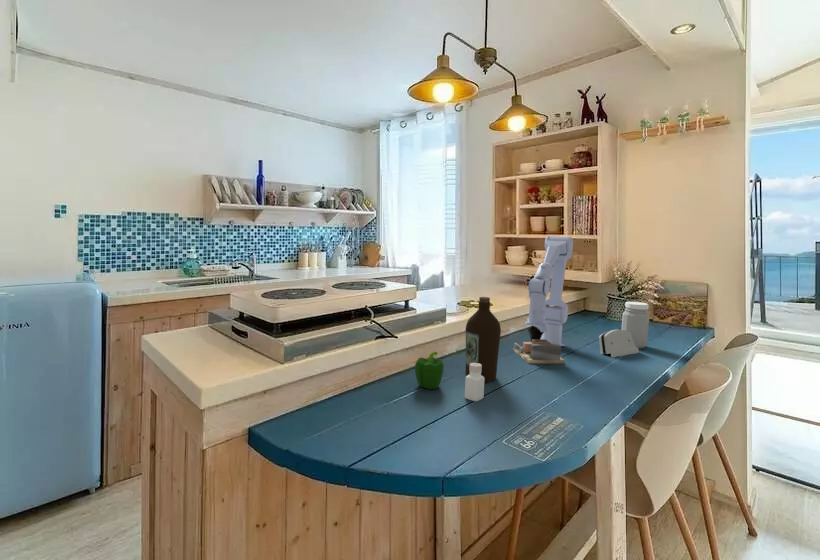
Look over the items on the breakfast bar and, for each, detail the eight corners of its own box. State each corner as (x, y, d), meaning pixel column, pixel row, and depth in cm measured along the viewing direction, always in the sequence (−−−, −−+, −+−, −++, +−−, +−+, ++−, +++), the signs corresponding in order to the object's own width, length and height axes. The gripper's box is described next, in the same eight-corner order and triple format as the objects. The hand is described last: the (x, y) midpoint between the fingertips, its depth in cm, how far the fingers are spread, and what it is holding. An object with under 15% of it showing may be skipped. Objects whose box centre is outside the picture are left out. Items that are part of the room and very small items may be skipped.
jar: (622, 341, 182) (625, 300, 180) (647, 345, 176) (652, 303, 174) (617, 346, 174) (621, 303, 172) (644, 350, 168) (649, 306, 166)
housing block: (531, 352, 155) (532, 339, 154) (544, 352, 155) (545, 339, 154) (536, 356, 150) (537, 342, 149) (550, 356, 150) (550, 343, 150)
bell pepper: (422, 393, 116) (423, 358, 115) (410, 383, 124) (411, 350, 123) (448, 389, 120) (450, 355, 118) (435, 380, 127) (437, 347, 126)
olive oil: (485, 370, 138) (489, 294, 135) (505, 380, 128) (509, 299, 126) (457, 373, 134) (460, 295, 131) (475, 385, 124) (479, 301, 121)
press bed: (513, 350, 162) (514, 334, 162) (546, 350, 164) (547, 334, 163) (528, 363, 147) (529, 345, 146) (564, 363, 148) (565, 346, 147)
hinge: (612, 357, 157) (606, 330, 159) (601, 358, 161) (595, 332, 163) (639, 352, 165) (633, 327, 167) (628, 353, 169) (623, 328, 171)
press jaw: (522, 350, 157) (522, 342, 157) (548, 350, 158) (549, 342, 157) (524, 352, 154) (525, 343, 154) (551, 352, 155) (551, 344, 155)
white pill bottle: (476, 402, 111) (478, 367, 110) (463, 398, 113) (465, 364, 112) (484, 398, 114) (486, 364, 113) (471, 394, 116) (473, 361, 115)
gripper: (520, 307, 163) (518, 341, 165) (534, 314, 149) (531, 352, 150) (537, 307, 164) (535, 341, 165) (553, 314, 149) (550, 352, 151)
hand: (534, 346), depth 158 cm, fingers closed
